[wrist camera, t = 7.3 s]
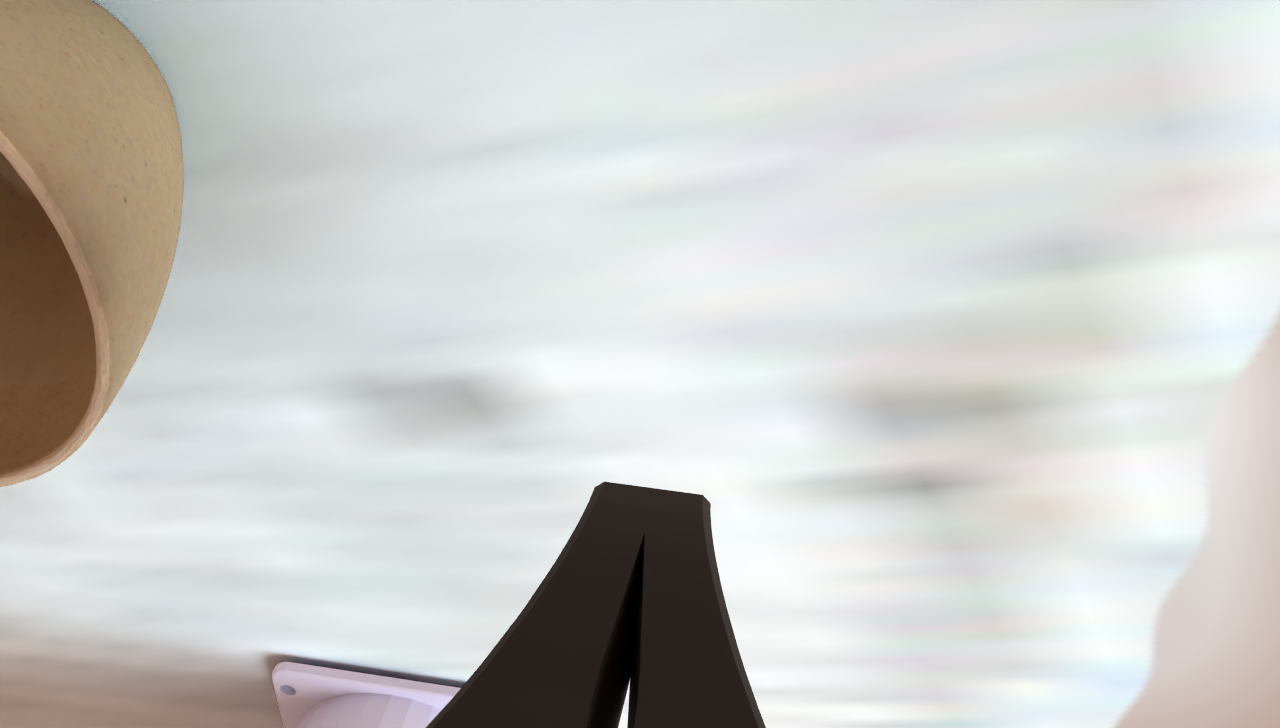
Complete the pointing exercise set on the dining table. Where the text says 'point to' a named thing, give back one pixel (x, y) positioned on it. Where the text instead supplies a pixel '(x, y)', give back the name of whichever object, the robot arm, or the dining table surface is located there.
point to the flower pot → (77, 221)
